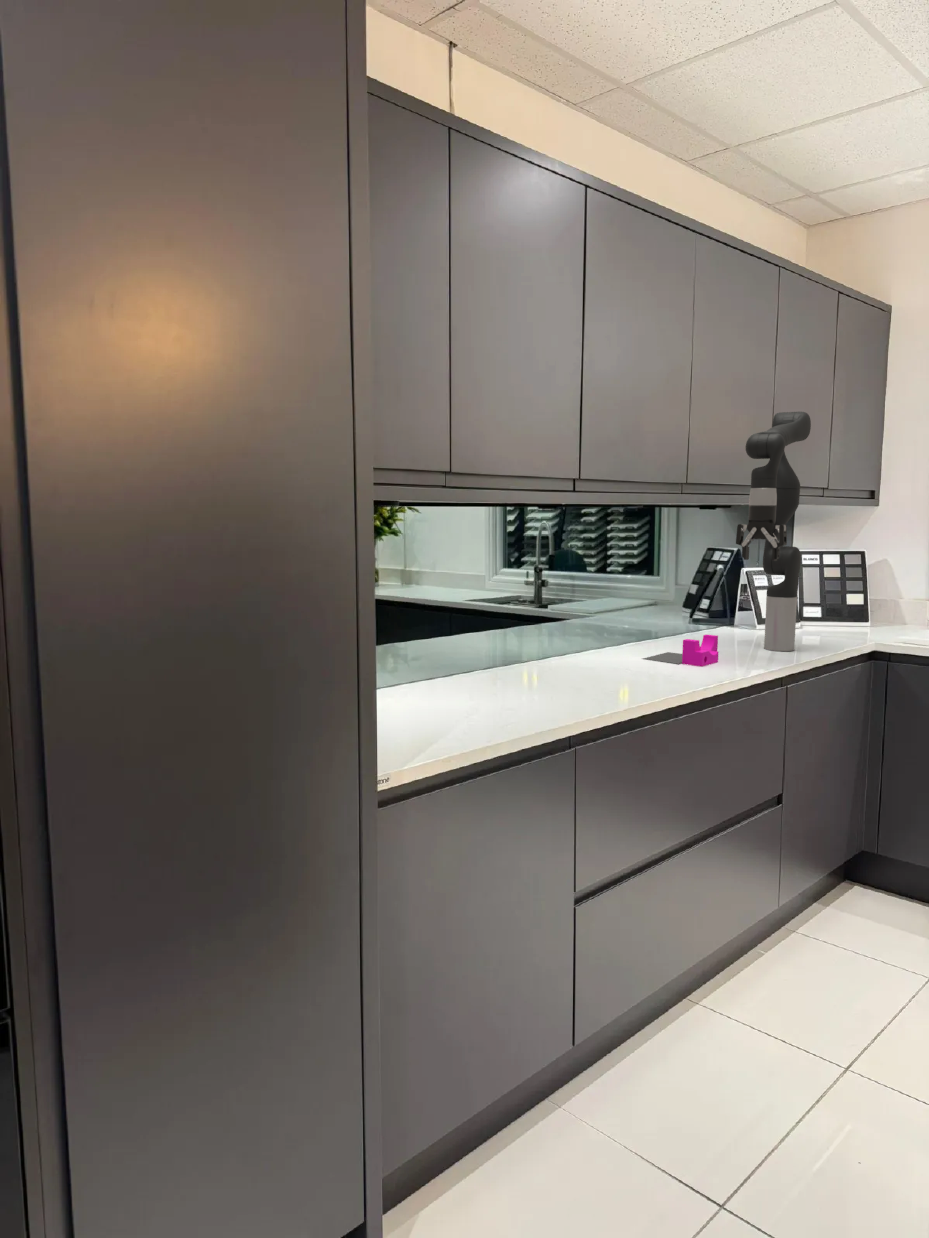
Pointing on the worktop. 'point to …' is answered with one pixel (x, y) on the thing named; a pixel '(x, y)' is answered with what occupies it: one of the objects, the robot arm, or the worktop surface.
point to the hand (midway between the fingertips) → (760, 560)
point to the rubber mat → (667, 658)
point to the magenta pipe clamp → (700, 651)
